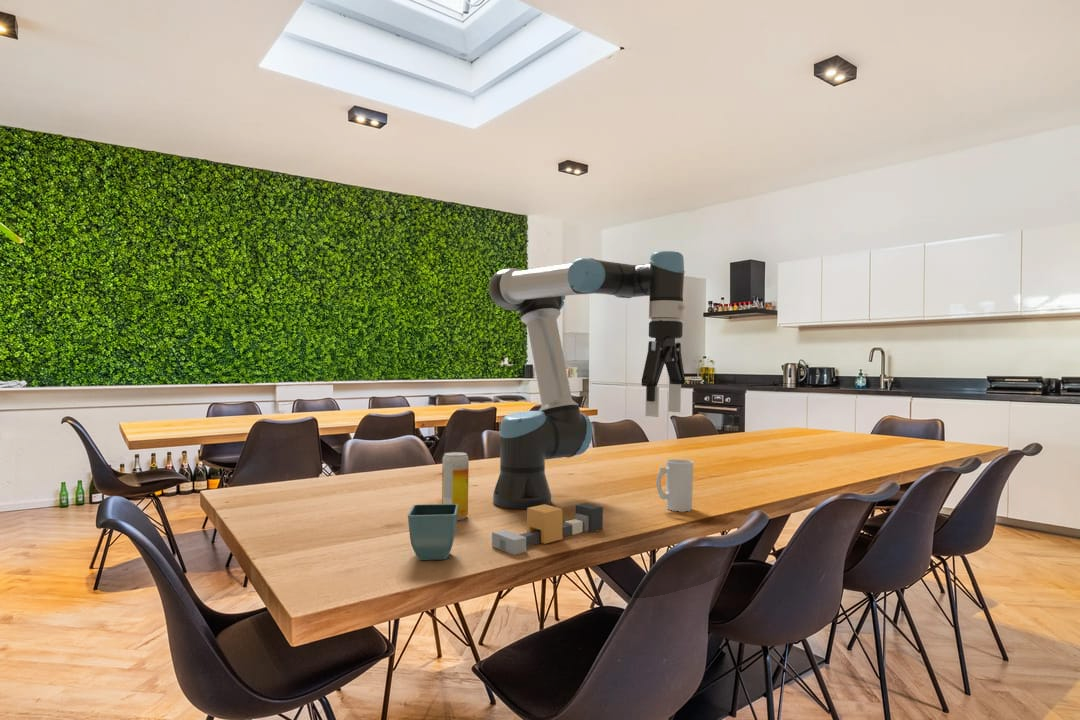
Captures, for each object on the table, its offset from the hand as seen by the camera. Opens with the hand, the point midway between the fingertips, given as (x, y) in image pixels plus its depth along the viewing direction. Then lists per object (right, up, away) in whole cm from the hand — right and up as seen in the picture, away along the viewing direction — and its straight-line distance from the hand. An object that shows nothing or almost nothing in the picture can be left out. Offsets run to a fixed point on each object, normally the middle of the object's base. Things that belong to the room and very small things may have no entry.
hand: (663, 414), depth 139 cm
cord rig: (-26, -25, -11) cm, 37 cm away
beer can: (-48, -25, +5) cm, 54 cm away
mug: (+5, -25, +14) cm, 30 cm away
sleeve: (-27, -25, -12) cm, 39 cm away
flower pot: (-48, -25, -23) cm, 59 cm away
